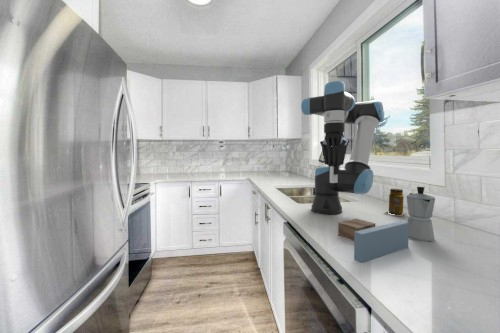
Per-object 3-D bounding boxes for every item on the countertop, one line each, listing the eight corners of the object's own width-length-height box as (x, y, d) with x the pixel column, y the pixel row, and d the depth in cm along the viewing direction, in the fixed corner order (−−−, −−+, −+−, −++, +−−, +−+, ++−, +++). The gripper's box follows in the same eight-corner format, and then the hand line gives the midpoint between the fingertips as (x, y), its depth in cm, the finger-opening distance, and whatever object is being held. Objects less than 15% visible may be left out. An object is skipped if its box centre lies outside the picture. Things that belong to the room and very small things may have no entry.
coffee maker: (443, 244, 80) (445, 189, 79) (413, 243, 82) (415, 189, 80) (421, 230, 94) (422, 183, 93) (396, 229, 96) (397, 183, 95)
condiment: (405, 213, 120) (406, 189, 119) (400, 216, 114) (401, 191, 113) (389, 211, 125) (389, 187, 124) (383, 214, 119) (384, 189, 118)
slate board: (400, 244, 80) (400, 220, 80) (408, 247, 78) (408, 222, 77) (354, 259, 70) (354, 231, 69) (361, 262, 68) (362, 234, 67)
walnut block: (355, 231, 95) (355, 218, 95) (375, 237, 88) (375, 223, 88) (338, 236, 90) (338, 222, 90) (357, 242, 83) (357, 228, 83)
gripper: (315, 124, 100) (314, 181, 102) (340, 120, 89) (339, 185, 90) (328, 125, 104) (328, 180, 105) (354, 121, 92) (353, 183, 94)
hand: (333, 182), depth 98 cm, fingers closed
